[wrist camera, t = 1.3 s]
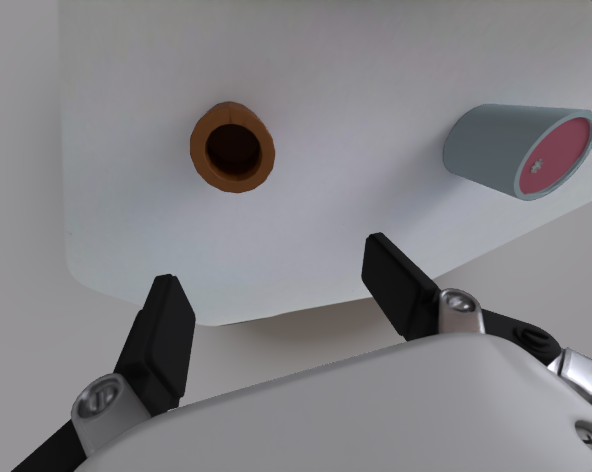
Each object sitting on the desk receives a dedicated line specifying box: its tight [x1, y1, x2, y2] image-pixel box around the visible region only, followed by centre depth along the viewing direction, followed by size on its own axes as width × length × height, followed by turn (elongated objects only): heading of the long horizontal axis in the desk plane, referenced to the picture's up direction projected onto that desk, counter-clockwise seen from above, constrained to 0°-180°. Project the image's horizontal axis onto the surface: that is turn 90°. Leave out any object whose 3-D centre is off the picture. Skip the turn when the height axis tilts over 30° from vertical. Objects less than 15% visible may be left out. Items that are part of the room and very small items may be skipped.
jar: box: [190, 102, 275, 193], centre depth 21 cm, size 6×6×9 cm
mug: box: [443, 104, 592, 201], centre depth 29 cm, size 14×9×10 cm
